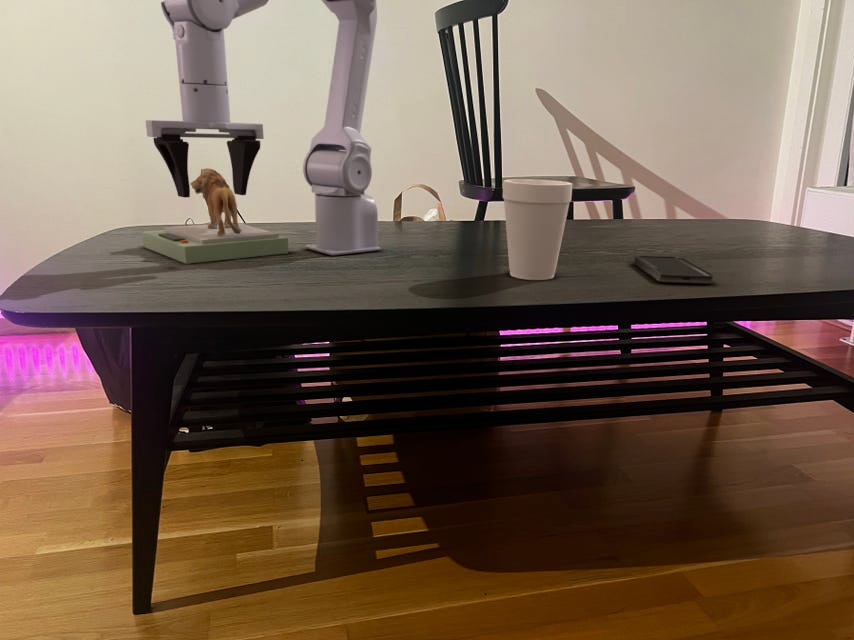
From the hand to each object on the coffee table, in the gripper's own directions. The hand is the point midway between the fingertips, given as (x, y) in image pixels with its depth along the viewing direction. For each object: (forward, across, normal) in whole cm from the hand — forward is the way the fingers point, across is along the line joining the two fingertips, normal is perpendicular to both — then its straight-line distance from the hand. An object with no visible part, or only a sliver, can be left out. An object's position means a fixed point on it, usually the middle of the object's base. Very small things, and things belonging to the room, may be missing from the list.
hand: (212, 195), depth 92 cm
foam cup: (+10, +34, -27) cm, 45 cm away
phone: (+10, +53, -38) cm, 66 cm away
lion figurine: (+7, +7, +14) cm, 17 cm away
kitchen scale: (+10, +6, +14) cm, 18 cm away
